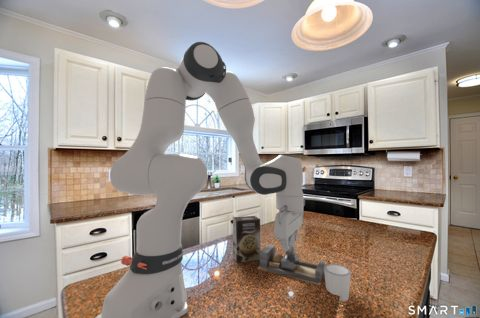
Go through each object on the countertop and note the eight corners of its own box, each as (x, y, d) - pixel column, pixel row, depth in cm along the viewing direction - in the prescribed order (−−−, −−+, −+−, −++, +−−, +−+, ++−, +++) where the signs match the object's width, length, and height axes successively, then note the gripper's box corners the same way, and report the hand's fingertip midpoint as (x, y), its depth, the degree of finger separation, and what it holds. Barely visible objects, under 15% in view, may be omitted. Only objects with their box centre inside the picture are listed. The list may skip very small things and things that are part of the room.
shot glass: (343, 287, 64) (343, 263, 64) (356, 302, 57) (356, 275, 57) (320, 288, 64) (319, 263, 64) (330, 303, 57) (330, 276, 57)
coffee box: (236, 267, 77) (236, 220, 77) (232, 259, 83) (232, 216, 83) (261, 263, 79) (260, 219, 80) (255, 256, 86) (254, 215, 86)
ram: (293, 274, 69) (292, 237, 69) (281, 271, 71) (280, 235, 71) (299, 265, 75) (298, 231, 75) (287, 262, 77) (287, 229, 77)
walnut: (281, 269, 72) (281, 257, 72) (270, 266, 74) (270, 254, 74) (285, 264, 75) (285, 252, 76) (274, 261, 77) (274, 250, 78)
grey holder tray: (319, 290, 63) (319, 267, 63) (256, 273, 73) (256, 253, 73) (325, 273, 72) (325, 253, 72) (269, 260, 82) (269, 242, 82)
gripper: (289, 210, 62) (290, 259, 62) (306, 199, 80) (306, 237, 80) (268, 208, 66) (269, 254, 65) (289, 198, 83) (289, 235, 83)
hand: (290, 245), depth 73 cm, fingers open, 8 cm apart
